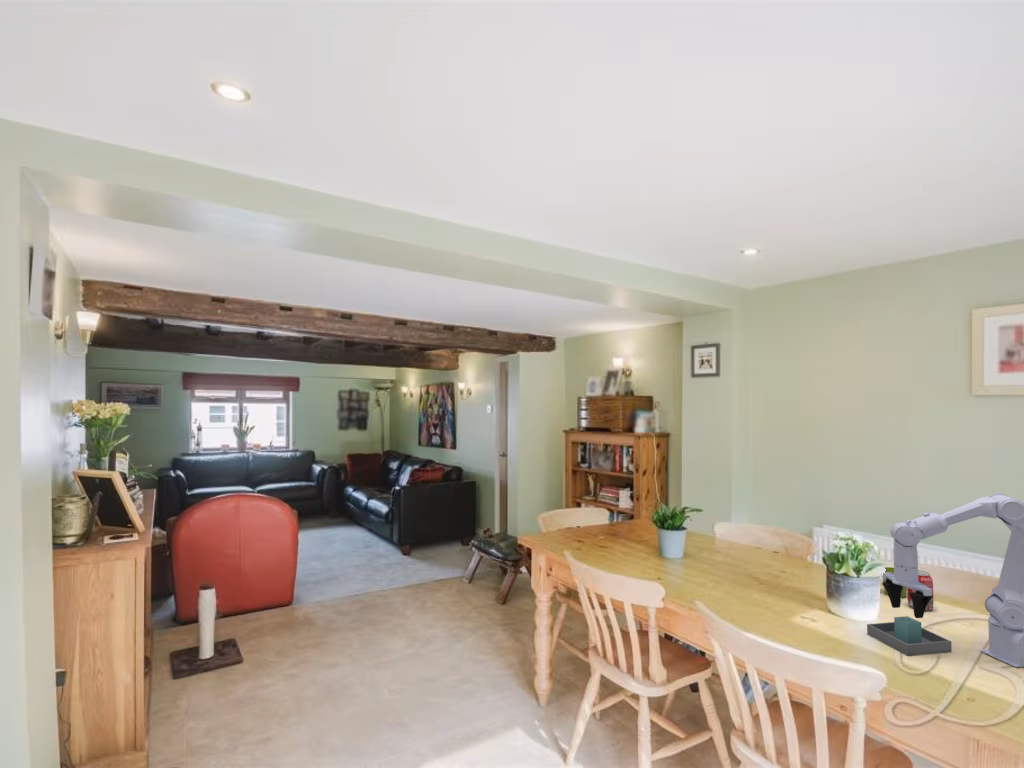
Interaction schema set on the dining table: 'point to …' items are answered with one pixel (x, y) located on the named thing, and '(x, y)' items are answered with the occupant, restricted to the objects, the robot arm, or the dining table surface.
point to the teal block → (907, 630)
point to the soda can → (927, 581)
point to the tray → (928, 646)
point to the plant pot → (891, 570)
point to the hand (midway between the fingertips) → (907, 612)
